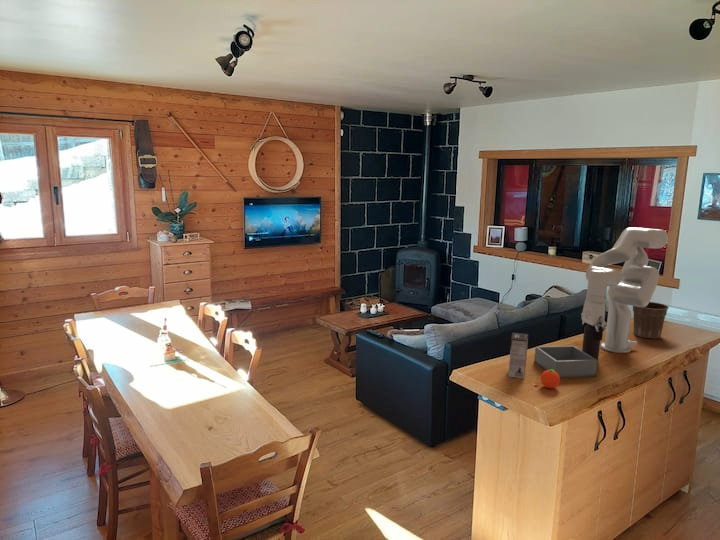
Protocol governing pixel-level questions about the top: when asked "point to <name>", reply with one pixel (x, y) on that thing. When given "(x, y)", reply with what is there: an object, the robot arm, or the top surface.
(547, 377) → the clementine
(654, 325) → the plant pot
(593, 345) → the vinegar
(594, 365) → the tote
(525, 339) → the coffee box
